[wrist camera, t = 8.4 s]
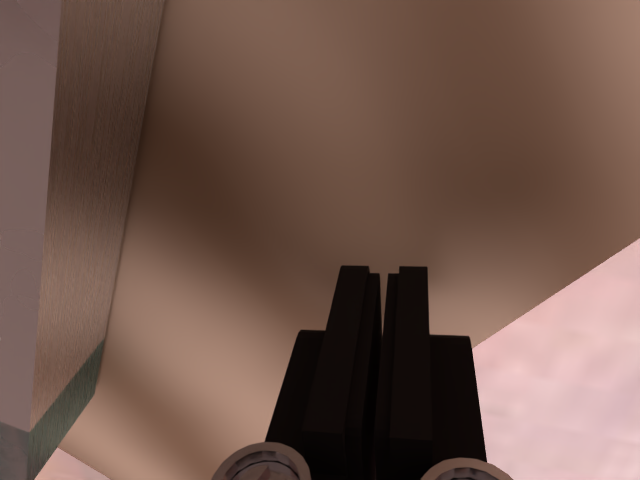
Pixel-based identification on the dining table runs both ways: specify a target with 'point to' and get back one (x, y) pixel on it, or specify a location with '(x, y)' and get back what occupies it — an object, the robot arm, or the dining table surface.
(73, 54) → the tongs jaw
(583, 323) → the dining table surface
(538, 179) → the maple board
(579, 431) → the dining table surface
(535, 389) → the dining table surface
